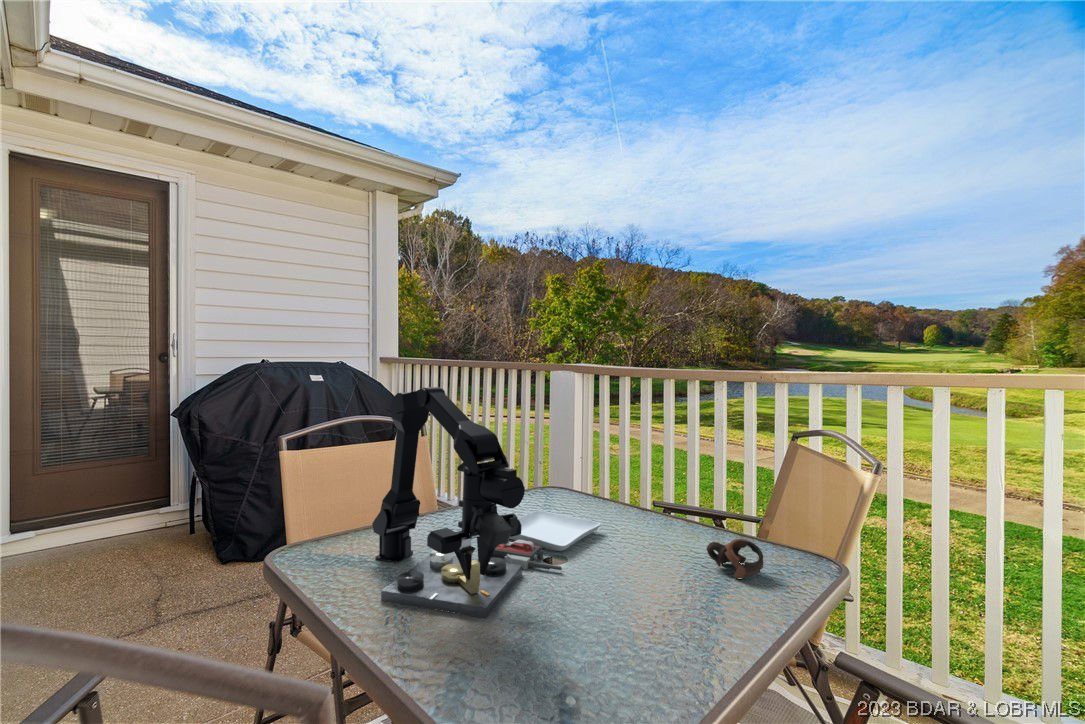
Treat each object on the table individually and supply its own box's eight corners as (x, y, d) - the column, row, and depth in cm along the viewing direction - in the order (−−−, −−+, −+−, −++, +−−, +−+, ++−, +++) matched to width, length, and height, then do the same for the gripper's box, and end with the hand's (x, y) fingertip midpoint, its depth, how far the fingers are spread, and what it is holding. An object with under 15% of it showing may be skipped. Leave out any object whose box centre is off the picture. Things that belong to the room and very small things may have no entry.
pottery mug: (756, 566, 120) (767, 542, 116) (754, 600, 113) (767, 575, 108) (703, 547, 124) (713, 523, 119) (699, 579, 116) (708, 554, 112)
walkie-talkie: (478, 563, 121) (560, 577, 113) (479, 544, 121) (560, 557, 113) (495, 549, 129) (572, 562, 122) (495, 532, 129) (572, 543, 122)
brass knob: (436, 574, 108) (436, 547, 108) (463, 567, 111) (463, 542, 111) (460, 596, 98) (460, 567, 98) (489, 589, 101) (489, 560, 101)
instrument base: (379, 601, 100) (379, 576, 100) (432, 561, 120) (432, 540, 120) (484, 619, 94) (484, 592, 94) (521, 574, 113) (522, 551, 113)
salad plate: (602, 533, 141) (603, 521, 141) (564, 559, 123) (564, 545, 123) (537, 520, 152) (537, 508, 152) (493, 541, 134) (493, 528, 134)
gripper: (459, 515, 89) (457, 606, 89) (540, 498, 101) (538, 578, 101) (426, 500, 97) (424, 584, 97) (505, 486, 109) (503, 560, 109)
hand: (475, 576), depth 101 cm, fingers open, 3 cm apart
